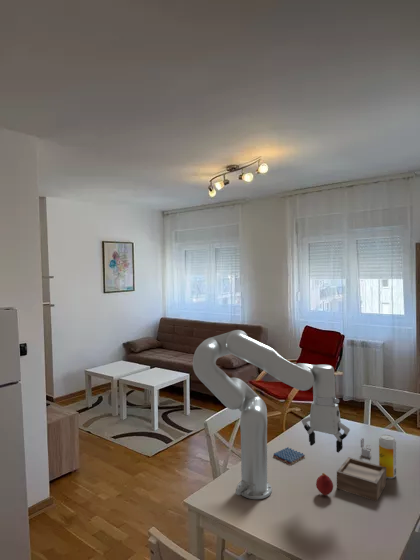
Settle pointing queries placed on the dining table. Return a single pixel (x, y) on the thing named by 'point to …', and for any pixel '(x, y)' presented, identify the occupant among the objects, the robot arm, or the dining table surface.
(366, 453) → the architectural model
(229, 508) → the dining table surface
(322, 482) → the pomegranate
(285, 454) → the woven mat
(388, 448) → the beer can
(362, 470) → the walnut tray
